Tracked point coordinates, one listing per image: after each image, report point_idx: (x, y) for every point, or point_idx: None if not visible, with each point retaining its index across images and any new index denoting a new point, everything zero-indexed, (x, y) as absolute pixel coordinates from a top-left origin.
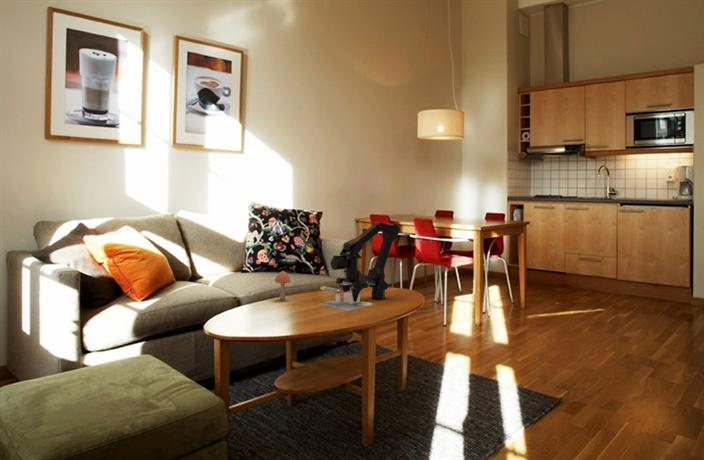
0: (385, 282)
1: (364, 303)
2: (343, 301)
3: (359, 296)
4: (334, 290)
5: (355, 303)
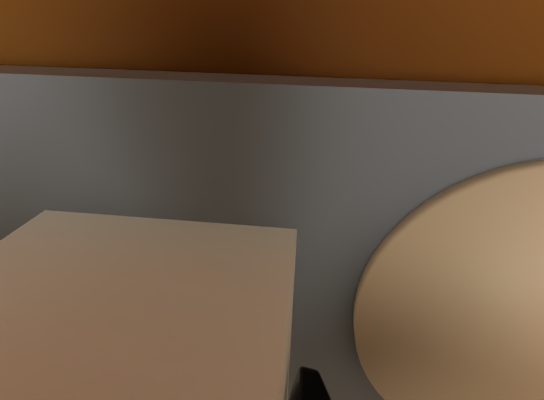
0: None
1: (530, 325)
2: None
3: (283, 328)
4: None
5: (312, 354)
